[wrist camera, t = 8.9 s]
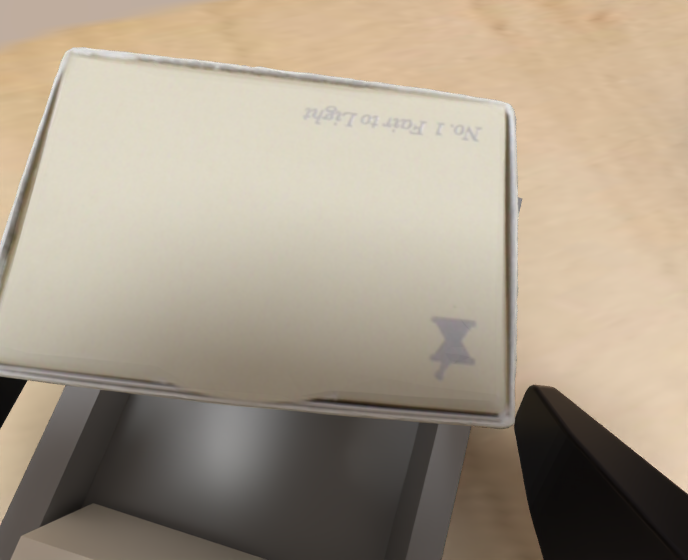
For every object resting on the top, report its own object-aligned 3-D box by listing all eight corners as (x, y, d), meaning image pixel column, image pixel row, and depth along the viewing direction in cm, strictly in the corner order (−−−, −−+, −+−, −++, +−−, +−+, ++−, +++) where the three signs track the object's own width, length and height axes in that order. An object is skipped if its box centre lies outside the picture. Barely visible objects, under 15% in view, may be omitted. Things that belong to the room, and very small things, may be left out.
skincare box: (387, 296, 18) (538, 92, 6) (377, 416, 17) (540, 440, 5) (222, 276, 18) (59, 21, 6) (199, 397, 17) (-56, 374, 5)
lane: (486, 233, 20) (558, 163, 14) (366, 728, 15) (402, 924, 10) (218, 147, 20) (183, 43, 14) (14, 613, 15) (-162, 738, 10)
